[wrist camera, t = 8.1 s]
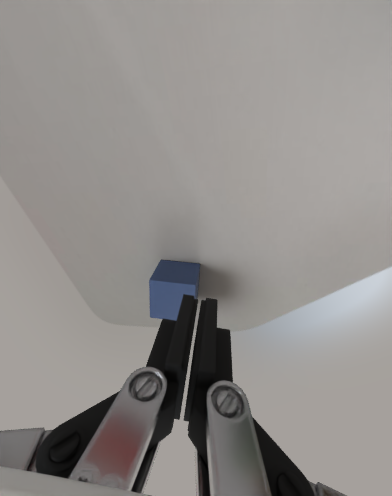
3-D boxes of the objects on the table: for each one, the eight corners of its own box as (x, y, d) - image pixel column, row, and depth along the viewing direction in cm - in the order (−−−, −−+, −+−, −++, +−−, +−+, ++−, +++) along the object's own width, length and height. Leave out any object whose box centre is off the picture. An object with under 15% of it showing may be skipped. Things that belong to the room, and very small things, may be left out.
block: (200, 263, 25) (196, 285, 21) (197, 297, 27) (193, 322, 23) (160, 259, 25) (149, 280, 21) (160, 292, 27) (150, 317, 23)
